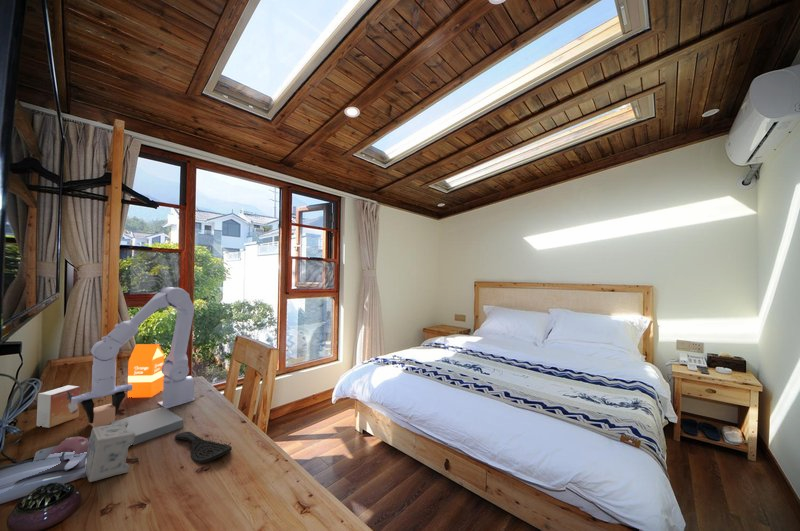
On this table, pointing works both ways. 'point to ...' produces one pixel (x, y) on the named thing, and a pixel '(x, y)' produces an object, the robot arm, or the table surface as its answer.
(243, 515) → the table surface
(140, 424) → the plinth
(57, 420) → the small box
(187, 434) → the hairbrush
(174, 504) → the table surface
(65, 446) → the pink rounded lump
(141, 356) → the orange juice
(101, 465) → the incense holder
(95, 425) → the terracotta block
